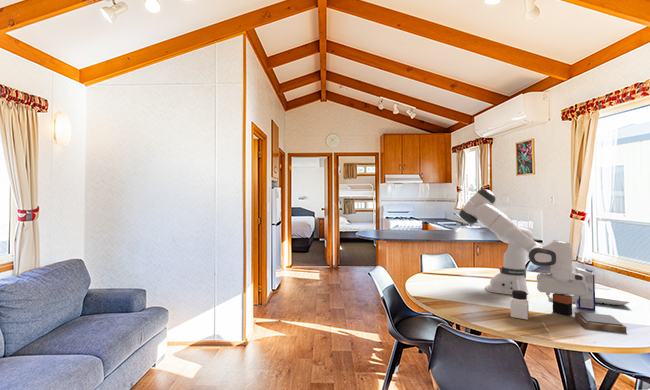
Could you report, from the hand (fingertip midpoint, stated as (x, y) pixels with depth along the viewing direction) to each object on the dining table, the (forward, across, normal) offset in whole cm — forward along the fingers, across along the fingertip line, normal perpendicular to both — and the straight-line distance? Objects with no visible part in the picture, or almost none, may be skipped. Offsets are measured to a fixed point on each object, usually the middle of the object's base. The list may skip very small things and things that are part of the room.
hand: (562, 302), depth 161 cm
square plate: (+6, +22, +38) cm, 44 cm away
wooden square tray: (+5, +11, -11) cm, 16 cm away
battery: (+5, 0, 0) cm, 5 cm away
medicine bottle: (+5, -20, -12) cm, 23 cm away
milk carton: (+5, +13, +14) cm, 20 cm away
